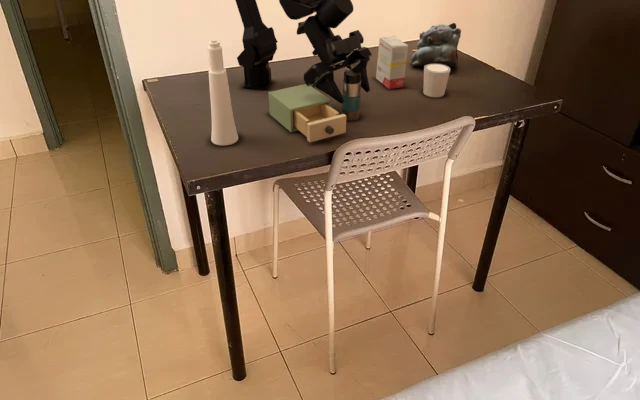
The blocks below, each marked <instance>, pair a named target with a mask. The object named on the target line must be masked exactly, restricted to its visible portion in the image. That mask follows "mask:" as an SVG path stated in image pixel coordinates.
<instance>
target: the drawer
mask: <svg viewBox="0 0 640 400" xmlns="http://www.w3.org/2000/svg"><path fill="white" fill-rule="evenodd" d="M293 126H294V127H295V128H297V129H298V132H300V133H301V134H302V135H304V137H306V140H307V142H308V143H313V142H317V141H320V140H323V139H328V138H331V137H334V136H338V135H341V134H345V133H346V132H347V120H346V115H345V114H342V113H341V114H340V112H338V111H337V110H336V109H335V108H333V107H332V106H331V107H330V106H329V105H327V104H326V103H324V104H320V105H316V106H312V107H308V108H304V109H300V110H296V111H293Z"/></svg>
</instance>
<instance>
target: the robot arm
mask: <svg viewBox="0 0 640 400" xmlns="http://www.w3.org/2000/svg"><path fill="white" fill-rule="evenodd" d="M278 3H279V5H280V6H281V8H282V10H283V12H284V14H285V15H286V16H287V18H288V19H290V20H293V21H297V20H301V19H304V18H306V17H307V18H306V19H305V20H304V21H299V22H298V23H297V29H296V35H297V36H299V35H303V34H305V36H306V37H307V39H308V41H309V43H310V44H311V46H312V48H313V51H311V54H312V55H313V57H316V56H317V57H318V58H319V61H320V62H317V63H314V64H312V65H311V66H310V67H309V68H308V69H307V70H306V72H304V73H303V81H304V84H306V85H307V86H311V87H313V88H314V89H316V90H319V91H320V92H323V93H324V94H326V95H328V96H329V97H331V99H333V100H335V101H336V102H338V103H339V104H340V105H342V103H344V99H343V96H342V95H343V93H342V92H341V90H340V89H339V86H338V84H337V83H336V81H335V73H334V72H335V71H338V70H341V69H343V68H346V69H347V70H357V71H360V72H361V89H362V90H363V91H364V92H365V93H369V92H370V91H371V88H370V83H369V78H368V71H367V65H368V63H369V62H370V60H371V57H372V55H373V54H372V52H371V51H370V49H369V48H368V47H366V46H362V44H364V42H365V41H364V39H365V38H364V36H363V34H362V33H361V32H360V30H359V29H356V30H353V31H350V32H349V33H348V37H346V38H342V36H341V35H340V34H336V35H335V34H334V32H333V30H332V29H337V28H338V27H339V26H340V25H341V24H342V23H343V22H344V21H345V20H346V19H347V18H348V17H349V16H350V15H351V14H352V13H353V12H354V4H353V2H352V0H278ZM235 4H236V7H237V10H238V14H239V16H240V20H241V22H242V25H243V33H242V39H241V42H242V46H243V50H242V51H241V52H240V53H239V55H238V56H237V57H236V60H237V63H238V65H239V66H240V67H242V68H243V77H244V84H243V85H242V88H243V89H251V90H253V89H254V90H267V89H268V87H269V86H270V85H271V83H272V68H271V67H270V63H269V62H272V61H273V60H274V56H275V54H276V52H277V50H278V45H277V44H278V39H277V37H276V35H275V30H274V28H273V26H270V27H268V26H267V25H266V24H265V23H264V22H263V19H262V16H261V13H260V9H259V6H258V3H257V0H235ZM313 14H314V15H313Z"/></svg>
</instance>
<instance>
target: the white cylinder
mask: <svg viewBox="0 0 640 400" xmlns="http://www.w3.org/2000/svg"><path fill="white" fill-rule="evenodd" d="M450 73H451V67H449V66H446V65H442V64H428V65H423V84H422V87H423V88H422V89H423V90H422V93H423V94H424V95H425V96H427V97H430V98H441V97H444V96H445V93H446V90H447V85H448V82H449V77H450Z"/></svg>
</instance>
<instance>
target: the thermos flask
mask: <svg viewBox="0 0 640 400" xmlns="http://www.w3.org/2000/svg"><path fill="white" fill-rule="evenodd" d="M361 89H362V87H361V72H360V71H357V70H350V69H347V70H344V72H343V79H342V96H343V99H344V103H342V104H341V114H345V115H346V121H349V122H350V121H357V120H359V118H360V109H361V108H360V107H361Z"/></svg>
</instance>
